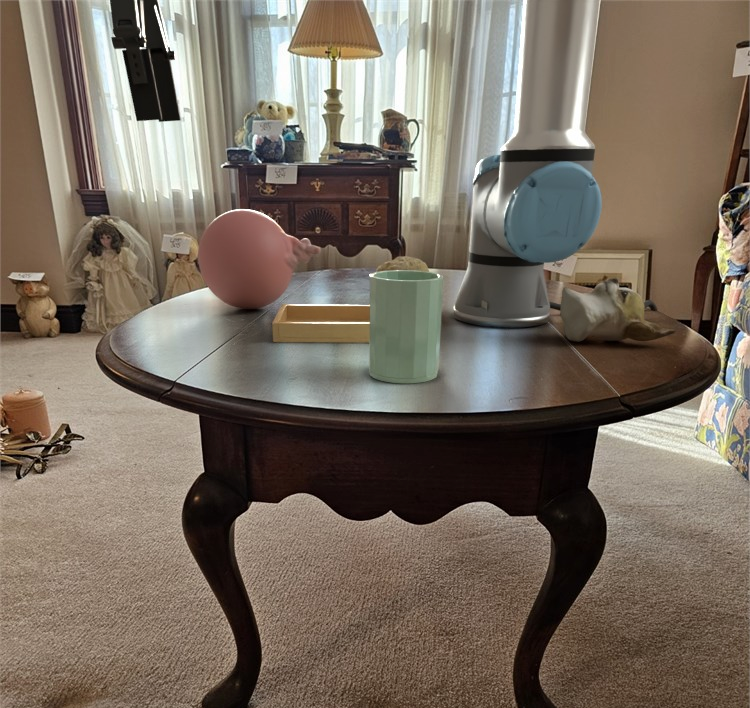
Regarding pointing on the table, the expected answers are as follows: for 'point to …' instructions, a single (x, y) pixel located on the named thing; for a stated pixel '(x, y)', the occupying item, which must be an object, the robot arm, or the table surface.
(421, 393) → the table surface
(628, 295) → the ceramic sculpture
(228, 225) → the balloon
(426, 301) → the cup
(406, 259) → the coral
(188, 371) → the table surface
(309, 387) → the table surface
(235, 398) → the table surface
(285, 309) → the tray
